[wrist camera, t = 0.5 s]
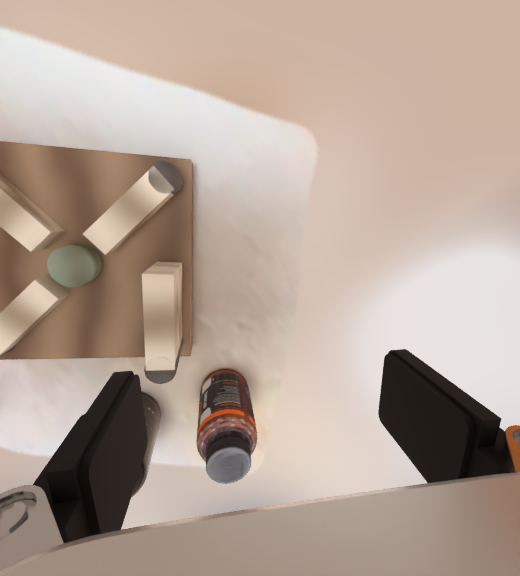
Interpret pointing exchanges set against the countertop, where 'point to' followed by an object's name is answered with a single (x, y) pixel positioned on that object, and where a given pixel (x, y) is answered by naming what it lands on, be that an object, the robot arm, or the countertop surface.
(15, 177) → the stool seat
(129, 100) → the countertop surface
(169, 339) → the hinged leg
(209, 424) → the supplement bottle
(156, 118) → the countertop surface
